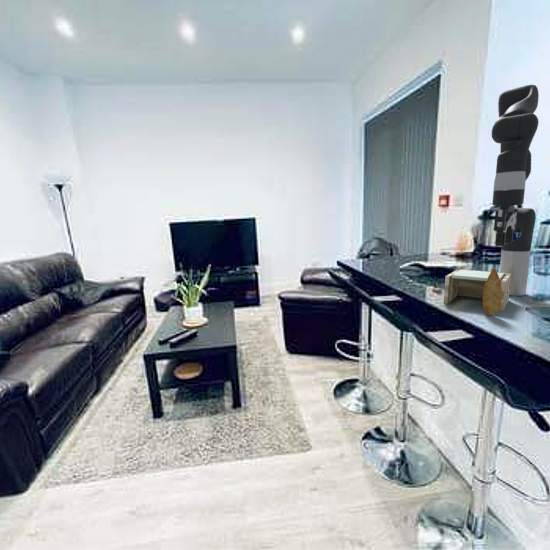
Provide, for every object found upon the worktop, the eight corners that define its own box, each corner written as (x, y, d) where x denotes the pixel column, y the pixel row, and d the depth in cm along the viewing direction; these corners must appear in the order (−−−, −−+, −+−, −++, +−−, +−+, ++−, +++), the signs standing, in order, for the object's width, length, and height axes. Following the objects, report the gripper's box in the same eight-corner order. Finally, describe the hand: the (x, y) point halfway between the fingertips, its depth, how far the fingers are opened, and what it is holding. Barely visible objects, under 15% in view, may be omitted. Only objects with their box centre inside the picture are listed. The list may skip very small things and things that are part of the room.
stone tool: (500, 315, 105) (505, 268, 103) (499, 317, 103) (504, 270, 101) (481, 313, 108) (485, 267, 106) (480, 315, 106) (484, 268, 104)
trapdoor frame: (454, 294, 134) (456, 269, 132) (508, 300, 123) (511, 273, 121) (443, 303, 121) (445, 276, 119) (502, 311, 110) (505, 281, 108)
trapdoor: (460, 272, 130) (461, 269, 130) (504, 275, 121) (504, 272, 121) (451, 278, 119) (452, 274, 119) (498, 282, 110) (499, 278, 110)
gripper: (500, 190, 105) (496, 241, 108) (486, 189, 95) (482, 246, 98) (530, 188, 99) (524, 242, 102) (518, 187, 90) (512, 247, 93)
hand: (503, 244), depth 100 cm, fingers open, 8 cm apart
